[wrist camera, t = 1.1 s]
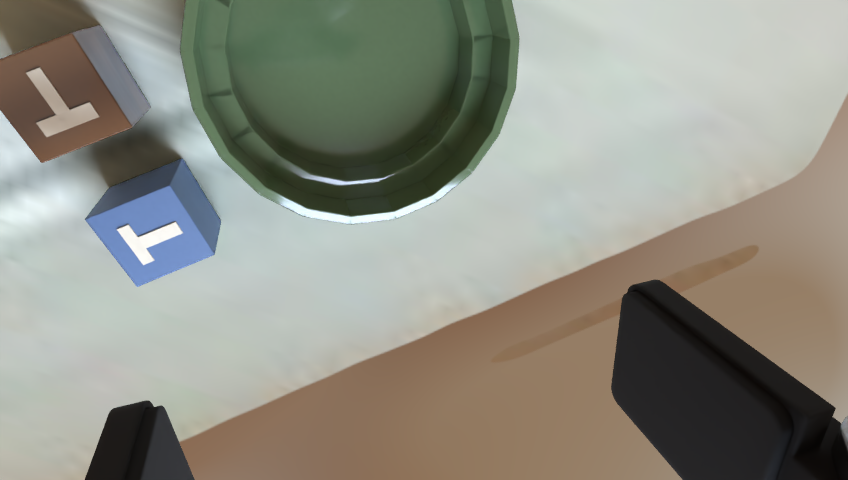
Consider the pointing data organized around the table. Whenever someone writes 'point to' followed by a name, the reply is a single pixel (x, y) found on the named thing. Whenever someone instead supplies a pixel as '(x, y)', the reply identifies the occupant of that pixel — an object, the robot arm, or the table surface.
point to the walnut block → (69, 93)
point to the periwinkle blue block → (156, 222)
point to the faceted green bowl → (351, 97)
